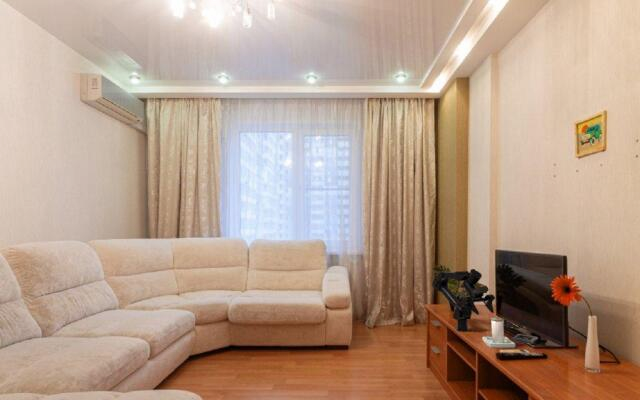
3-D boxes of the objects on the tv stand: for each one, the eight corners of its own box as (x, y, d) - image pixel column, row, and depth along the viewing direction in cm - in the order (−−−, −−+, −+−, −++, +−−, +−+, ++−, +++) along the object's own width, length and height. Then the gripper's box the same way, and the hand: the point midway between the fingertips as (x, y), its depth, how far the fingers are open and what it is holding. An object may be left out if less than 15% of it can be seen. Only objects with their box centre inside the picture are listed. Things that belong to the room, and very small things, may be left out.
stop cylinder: (493, 340, 201) (492, 316, 201) (505, 342, 197) (503, 317, 198) (491, 343, 196) (490, 318, 197) (503, 345, 193) (502, 320, 194)
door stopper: (503, 324, 234) (502, 304, 235) (514, 324, 233) (512, 304, 234) (507, 328, 226) (506, 307, 226) (518, 328, 224) (517, 307, 225)
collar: (512, 341, 200) (512, 337, 200) (518, 337, 207) (518, 333, 207) (531, 345, 193) (531, 341, 194) (537, 341, 200) (537, 337, 200)
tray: (482, 340, 203) (482, 336, 203) (506, 340, 202) (506, 336, 202) (490, 347, 191) (489, 343, 191) (515, 348, 190) (515, 343, 190)
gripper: (462, 281, 209) (477, 306, 198) (491, 279, 214) (507, 303, 203) (454, 294, 216) (468, 318, 205) (482, 291, 221) (497, 315, 210)
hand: (485, 313), depth 205 cm, fingers open, 9 cm apart
